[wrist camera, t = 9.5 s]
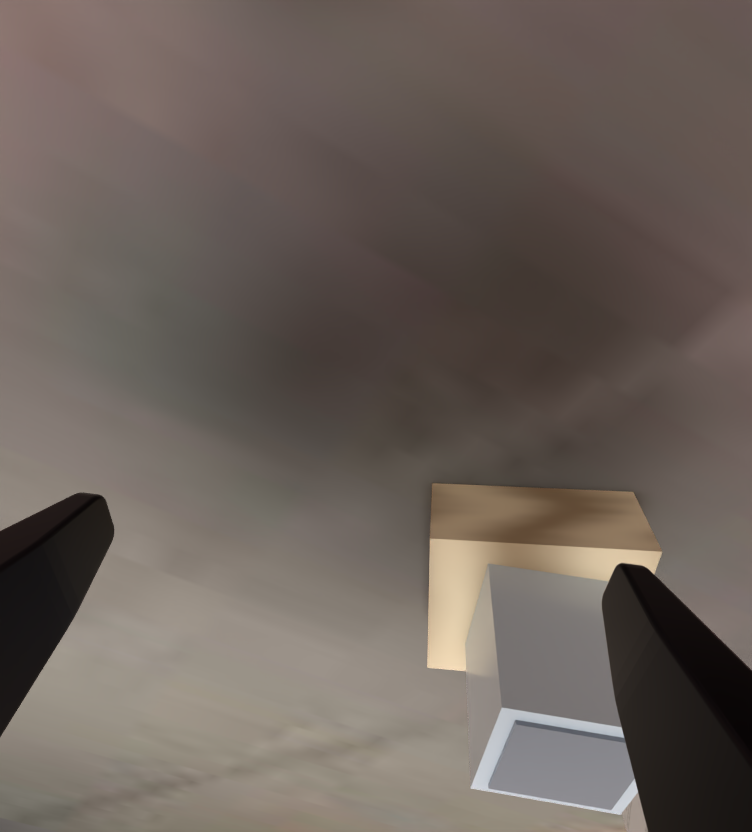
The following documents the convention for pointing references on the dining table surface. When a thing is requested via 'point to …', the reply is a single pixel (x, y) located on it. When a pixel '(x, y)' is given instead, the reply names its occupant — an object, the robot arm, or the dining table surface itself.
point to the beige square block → (521, 547)
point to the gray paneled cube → (544, 693)
